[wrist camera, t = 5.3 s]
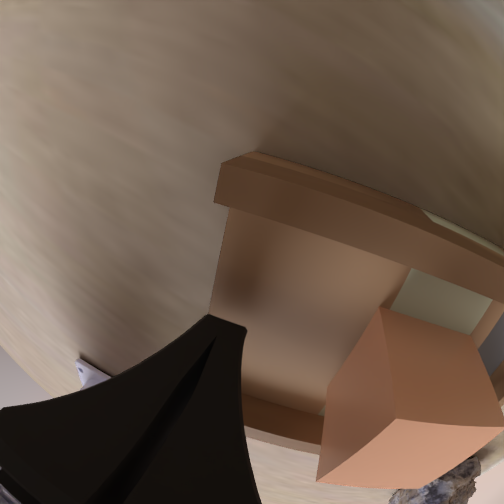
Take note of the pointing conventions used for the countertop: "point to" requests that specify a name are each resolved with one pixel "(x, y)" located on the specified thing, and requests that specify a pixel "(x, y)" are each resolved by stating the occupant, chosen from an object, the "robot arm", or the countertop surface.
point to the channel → (336, 285)
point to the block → (406, 406)
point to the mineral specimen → (444, 487)
